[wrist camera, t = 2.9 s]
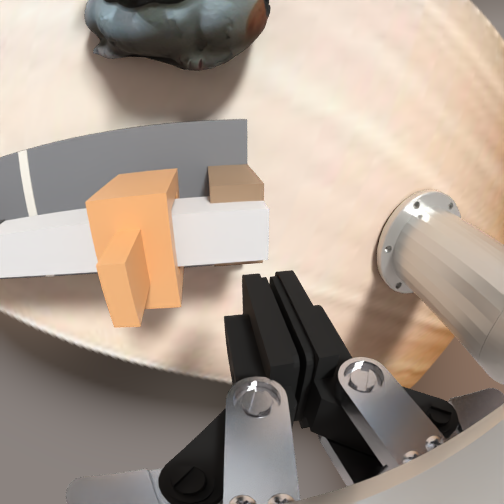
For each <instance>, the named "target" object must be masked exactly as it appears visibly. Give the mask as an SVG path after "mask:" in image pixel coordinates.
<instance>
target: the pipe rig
mask: <svg viewBox="0 0 504 504" xmlns="http://www.w3.org/2000/svg"><path fill="white" fill-rule="evenodd" d="M174 168H177V170H178V184H179V197H180V198H179V199H174V202H173V206H172V209H171V213H172V223H173V232H174V240H175V248H176V256H177V264H178V266H184V267H197V266H210V265H214V266H227V265H240V264H253V263H263V260H268V244H269V208H268V206H267V205H266V203H265V202H264V183H263V182H262V181H261V180H260V178H259V177H258V176H257V175H256V174H255V173H254V172H253V170H252V169H251V168H250V167H249V166H248V165H247V119H232V120H207V121H191V122H178V123H167V124H157V125H148V126H140V127H133V128H126V129H119V130H113V131H107V132H101V133H95V134H90V135H85V136H80V137H75V138H70V139H66V140H61V141H57V142H53V143H49V144H45V145H41V146H37V147H34V148H30V149H26V150H23V151H19V152H16V153H13V154H9V155H6V156H3V157H0V279H8V278H27V277H45V276H46V277H53V276H62V275H78V274H94V273H98V272H97V268H96V264H97V263H98V261H97V256H96V252H95V248H94V244H93V239H92V235H91V230H90V225H89V220H88V215H87V209H86V204H85V202H86V201H87V200H88V199H89V198H90V197H91V196H93V195H94V194H95V193H96V192H97V191H99V190H100V189H101V188H102V187H103V186H105V185H106V184H107V183H108V182H110V181H111V180H112V179H113V178H115V177H116V176H117V175H118V174H126V173H134V172H143V171H153V170H163V169H174Z"/></svg>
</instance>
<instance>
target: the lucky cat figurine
mask: <svg viewBox="0 0 504 504" xmlns="http://www.w3.org/2000/svg"><path fill="white" fill-rule="evenodd" d="M269 14H270V5H269V0H89V1H88V2H87V6H86V9H85V22H86V25H87V26H88V28H89V29H90V30H91V31H92V32H94V33H95V34H96V35H97V36H98V37H99V39H100V43H99V44H98V45H97V46H96V47H95V48H94V50H93V51H94V52H93V53H96V54H99V55H101V56H103V57H106V58H112V59H114V58H121V57H129V56H130V57H146V58H149V59H153V60H157V61H161V62H164V63H168V64H171V65H174V66H176V67H179V68H182V69H184V70H185V69H188V70H194V71H199V70H204V69H211V68H213V67H216V66H218V65H221V64H224V63H226V62H228V61H229V60H230V59H232V58H233V57H235V56H236V55H238V54H239V53H241V52H242V51H243V50H245V49H246V48H247V47H248V46H249V45H250V44H252V43H253V41H254V40H255V39H256V38H257V37H258V36H259V35H260V34H261V32H262V31H263V30H264V28H265V25H266V22H267V19H268V17H269Z"/></svg>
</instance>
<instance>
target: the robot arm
mask: <svg viewBox="0 0 504 504" xmlns="http://www.w3.org/2000/svg"><path fill="white" fill-rule="evenodd" d="M377 266H378V270H379V273H380V276H381V277H382V279H383V280H384V282H385V283H386V284H387V285H388V286H389V287H390V288H391V289H393V290H394V291H396V292H400V293H415V294H416V295H417V296H418V297H419V298H420V299H421V300H422V301H423V302H424V303H425V304H426V305H427V306H428V307H429V308H430V310H431V311H432V312H433V313H434V314H435V315H436V316H437V317H438V318H439V319H440V320H441V321H442V322H443V323H444V325H445V326H446V327H447V328H448V329H449V330H450V331H451V332H452V333H453V335H454V336H455V337H456V338H457V339H458V340H459V341H460V342H461V344H462V345H463V346H464V347H465V348H466V349H467V350H468V352H469V353H470V354H471V355H472V356H473V357H474V359H475V360H476V361H477V362H478V363H479V365H480V366H481V367H482V368H483V369H484V370H485V372H486V373H487V374H488V375H489V376H490V377H491V378H492V379H494V380H495V381H497V382H499V383H501V384H504V245H503V244H502V243H500V242H499V241H497V240H496V239H494V238H493V237H491V236H490V235H488V234H486V233H485V232H483V231H482V230H480V229H478V228H477V227H475V226H473V225H472V224H470V223H468V222H467V221H465V220H463V219H461V215H460V212H459V209H458V207H457V205H456V203H455V202H454V200H453V199H452V198H451V197H450V196H448V195H446V194H444V193H442V192H440V191H437V190H429V189H428V190H423V191H419V192H417V193H415V194H413V195H411V196H410V197H408V198H407V199H405V200H404V201H403V202H402V203H401V204H400V205H399V206H398V207H397V208H396V209H395V211H394V212H393V213H392V215H391V216H390V217H389V219H388V221H387V223H386V225H385V226H384V228H383V231H382V234H381V236H380V239H379V244H378V248H377ZM242 292H243V315H233V316H224V323H225V336H226V345H227V353H228V359H229V365H230V371H231V377H232V383H233V386H232V387H231V388H230V390H229V391H228V394H227V398H226V409H224V410H223V411H222V413H221V414H219V416H217V417H216V419H214V420H213V421H212V422H211V423H210V424H209V425H208V426H207V427H206V428H205V429H204V430H203V431H202V432H201V433H200V434H199V435H198V436H197V437H196V438H195V439H194V440H193V441H191V442H190V443H189V444H188V445H187V446H186V447H185V448H184V449H183V450H182V451H181V452H180V453H178V454H177V455H176V456H175V457H174V458H173V459H172V460H171V461H169V462H168V463H167V464H166V465H165V467H164V468H161V469H156V470H151V471H149V470H148V469H141V470H135V471H130V472H122V473H115V474H107V475H97V476H86V477H80V478H76V479H75V480H73V481H72V482H71V483H70V484H69V486H68V488H67V490H66V501H67V504H504V395H503V393H502V392H500V391H499V390H497V389H494V388H488V389H485V390H481V391H478V392H474V393H471V394H467V395H463V396H459V397H454V398H450V400H449V401H448V402H447V401H445V400H442V399H440V398H437V397H433V396H430V395H426V394H424V393H421V392H417V391H414V390H411V389H408V388H405V387H402V386H401V385H400V384H399V383H398V382H397V381H396V379H395V378H394V377H393V376H392V375H391V374H390V372H389V371H388V370H387V369H386V368H385V367H384V366H383V365H382V364H381V363H380V362H378V361H376V360H374V359H371V358H366V357H356V358H352V357H351V355H350V353H349V351H348V350H347V348H346V346H345V345H344V343H343V341H342V340H341V338H340V336H339V334H338V333H337V331H336V329H335V328H334V326H333V324H332V323H331V321H330V319H329V318H328V316H327V314H326V313H325V311H324V309H323V308H322V307H321V306H320V305H315V306H313V304H312V303H311V301H310V299H309V297H308V296H307V294H306V292H305V290H304V289H303V287H302V285H301V283H300V282H299V280H298V278H297V276H296V275H295V273H294V272H293V271H292V270H291V271H281V272H276V273H275V276H273V277H270V284H269V283H268V280H267V278H266V277H263V278H261V276H260V274H249V275H243V276H242ZM298 420H299V422H300V425H301V428H307V427H310V430H311V431H312V432H314V433H316V434H318V437H319V440H320V442H321V444H322V446H323V447H324V449H325V451H326V452H327V454H328V456H329V457H330V459H331V461H332V462H333V464H334V466H335V467H336V469H337V471H338V472H339V474H340V476H341V477H342V479H343V481H344V482H345V484H346V485H347V487H345V488H341V489H338V490H335V491H332V492H328V493H325V494H321V495H318V496H314V497H310V498H307V499H303V500H300V494H299V485H298V477H297V468H296V461H295V454H294V453H295V452H294V444H293V437H292V426H293V421H298Z"/></svg>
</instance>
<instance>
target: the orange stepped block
mask: <svg viewBox="0 0 504 504" xmlns="http://www.w3.org/2000/svg"><path fill="white" fill-rule="evenodd" d="M179 198H180V197H179V184H178V170H177V168H174V169H163V170H153V171H143V172H134V173H126V174H118V175H117V176H116V177H115V178H113V179H112V180H111V181H110V182H108V183H107V184H106V185H105V186H103V187H102V188H101V189H100V190H99V191H97V192H96V193H95V194H94V195H93V196H91V197H90V198H89V199H88V200H87V201H86V202H85V204H86V209H87V215H88V220H89V225H90V230H91V235H92V239H93V244H94V248H95V252H96V256H97V261H98V263H97V264H96V268H97V272H98V276H99V280H100V283H101V287H102V290H103V293H104V297H105V300H106V303H107V306H108V310H109V313H110V316H111V319H112V322H113V325H114V327H141V322H142V318H143V313H144V309H156V308H173V307H181V300H182V286H183V273H184V266H178V264H177V256H176V248H175V240H174V232H173V223H172V213H171V209H172V206H173V202H174V199H179Z"/></svg>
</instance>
